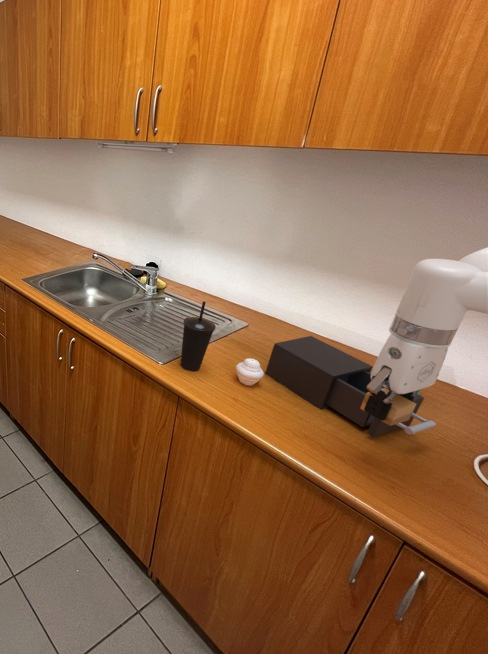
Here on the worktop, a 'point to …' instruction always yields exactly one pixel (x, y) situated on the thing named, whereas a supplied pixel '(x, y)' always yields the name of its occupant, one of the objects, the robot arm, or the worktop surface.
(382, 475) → the worktop surface
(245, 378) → the muffin
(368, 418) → the pull-out drawer
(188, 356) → the drinking cup
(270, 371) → the drawer box
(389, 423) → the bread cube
